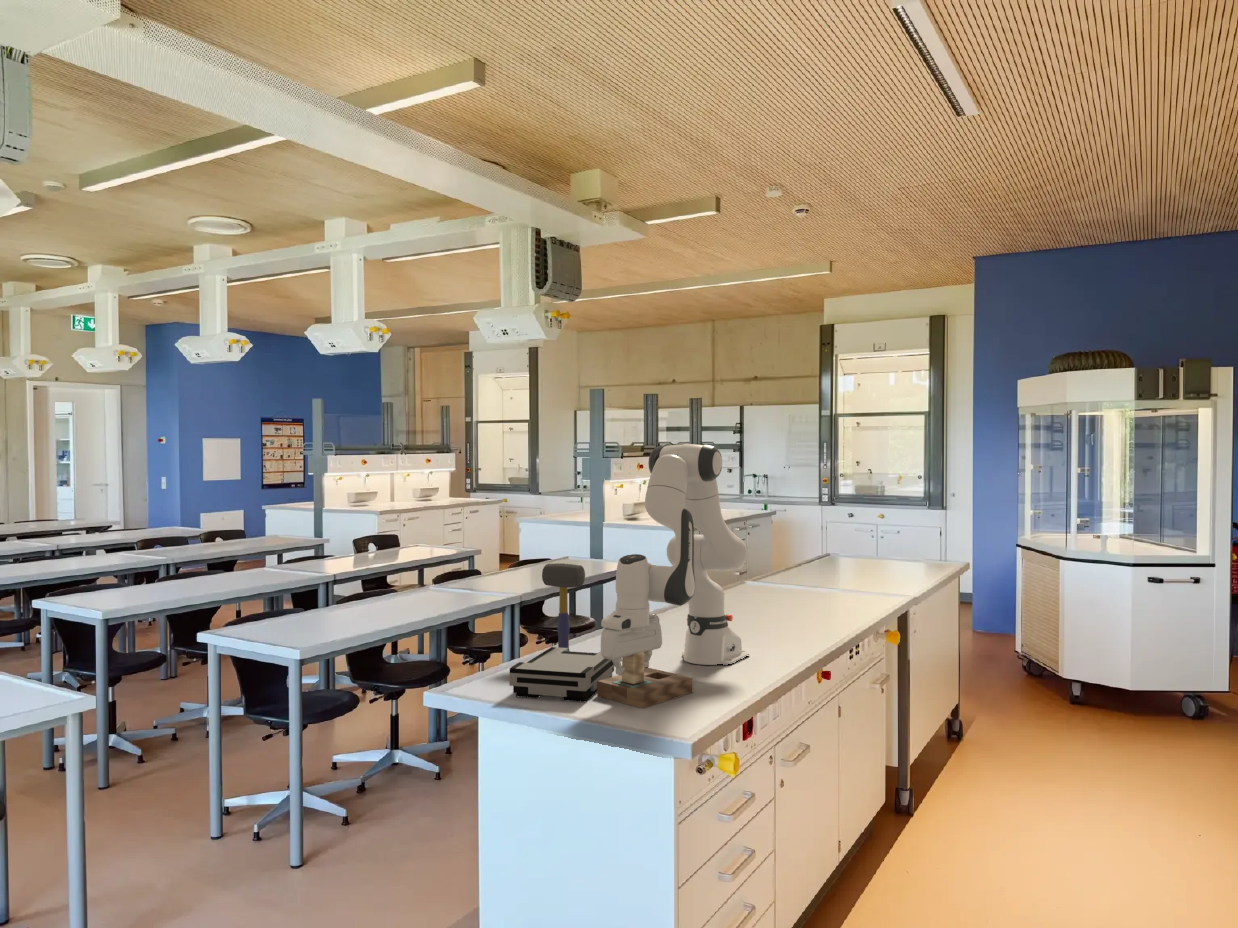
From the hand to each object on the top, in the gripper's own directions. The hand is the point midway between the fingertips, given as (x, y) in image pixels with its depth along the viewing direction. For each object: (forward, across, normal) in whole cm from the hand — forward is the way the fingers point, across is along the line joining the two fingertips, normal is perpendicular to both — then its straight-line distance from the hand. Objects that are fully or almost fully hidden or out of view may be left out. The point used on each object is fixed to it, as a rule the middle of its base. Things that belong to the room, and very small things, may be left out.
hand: (632, 670), depth 217 cm
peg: (+7, 0, 0) cm, 7 cm away
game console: (+8, +3, -21) cm, 23 cm away
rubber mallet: (+7, -17, -45) cm, 49 cm away
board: (+7, -5, 0) cm, 9 cm away
